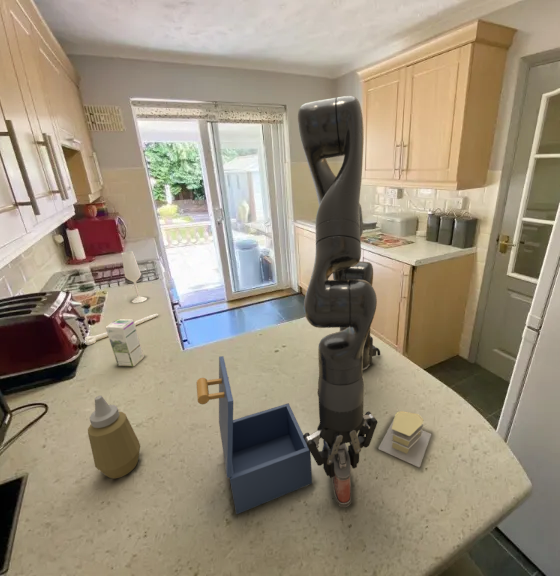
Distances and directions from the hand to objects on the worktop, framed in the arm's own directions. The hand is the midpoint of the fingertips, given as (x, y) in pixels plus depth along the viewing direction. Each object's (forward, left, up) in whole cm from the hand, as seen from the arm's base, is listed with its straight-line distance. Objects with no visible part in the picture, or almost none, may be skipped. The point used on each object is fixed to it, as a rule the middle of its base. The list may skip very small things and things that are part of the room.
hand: (341, 468), depth 58 cm
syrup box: (+44, -67, -5) cm, 80 cm away
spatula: (+50, -95, -5) cm, 108 cm away
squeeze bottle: (+40, -23, -5) cm, 47 cm away
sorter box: (+12, -10, -5) cm, 17 cm away
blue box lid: (+18, -10, +12) cm, 24 cm away
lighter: (0, 0, -5) cm, 5 cm away
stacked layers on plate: (-18, -4, -5) cm, 19 cm away
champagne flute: (+48, -127, -5) cm, 136 cm away
